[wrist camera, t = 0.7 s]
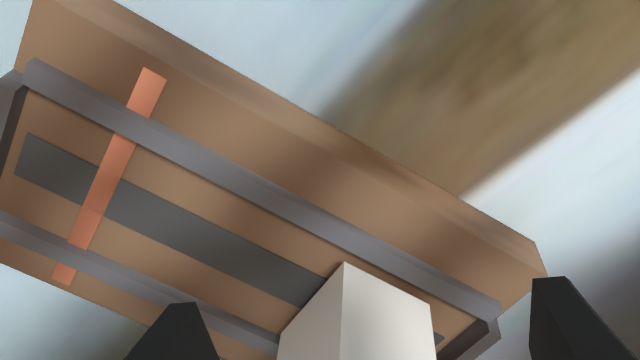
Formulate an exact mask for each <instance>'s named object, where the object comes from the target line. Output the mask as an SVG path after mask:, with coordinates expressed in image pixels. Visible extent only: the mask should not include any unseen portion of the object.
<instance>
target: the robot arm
mask: <svg viewBox="0 0 640 360" xmlns="http://www.w3.org/2000/svg"><path fill="white" fill-rule="evenodd" d="M529 349H530V353H531V358H532V360H638V359H637V358H636V357H635V356H634V355H633V354H632V353H631V351H630V350H629V349H628V348H627V347H626V346H625V345H624V344H623V343H622V342H621V341H620V340H619V339H618V337H617V336H616V335H615V334H614V333H613V332H612V331H611V330H610V328H609V327H608V326H607V325H606V324H605V323H604V322H603V320H602V319H601V318H600V317H599V316H598V315H597V313H596V312H595V311H594V310H593V309H592V308H591V306H590V305H589V304H588V303H587V301H586V300H585V299H584V298H583V297H582V295H581V294H580V293H579V292H578V290H577V289H576V288H575V287H574V285H573V284H572V283H571V281H570V280H569V279H567V278H566V277H565V276H560V277H546V278H532V295H531V314H530V332H529ZM124 360H220V359H219V357H218V354H217V352H216V349H215V347H214V345H213V342H212V340H211V338H210V335H209V333H208V330H207V328H206V326H205V323H204V321H203V319H202V316H201V314H200V311H199V309H198V307H197V304H196V302H185V303H170V304H169V305H168V306H167V308H166V309H165V310H164V311H163V312H162V314H161V315H160V316H159V317H158V318H157V320H156V321H155V322H154V323H153V324H152V326H151V327H150V328H149V329H148V330H147V332H146V333H145V334H144V335H143V337H142V338H141V339H140V340H139V341H138V343H137V344H136V345H135V346H134V347H133V349H132V350H131V351H130V352H129V354H128V355H127V356H126V357H125V358H124Z"/></svg>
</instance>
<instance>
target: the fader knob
mask: <svg viewBox="0 0 640 360" xmlns="http://www.w3.org/2000/svg"><path fill="white" fill-rule="evenodd" d="M277 360H437V359H436V351H435V344H434V336H433V328H432V321H431V313H430V305H429V304H427V303H425V302H424V301H422V300H420V299H418V298H416V297H414V296H412V295H410V294H408V293H406V292H404V291H402V290H400V289H398V288H396V287H394V286H392V285H390V284H388V283H386V282H384V281H382V280H380V279H378V278H376V277H374V276H372V275H370V274H368V273H366V272H364V271H362V270H360V269H358V268H356V267H354V266H352V265H350V264H348V263H346V262H343V263H342V264H341V266H340V267H339V268H338V269H337V270H336V271H335V272H334V274H333V275H332V276H331V277H330V278H329V279H328V280H327V282H326V283H325V284H324V285H323V286H322V287H321V288H320V290H319V291H318V292H317V293H316V294H315V295H314V296H313V298H312V299H311V300H310V301H309V302H308V303H307V304H306V305H305V307H304V308H303V309H302V310H301V311H300V312H299V313H298V315H297V316H296V317H295V318H294V319H293V320H292V321H291V323H290V324H289V325H288V326H287V327H286V328H285V329H284V331H283V332H282V333H281V336H280V342H279V348H278V354H277Z"/></svg>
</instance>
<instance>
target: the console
mask: <svg viewBox="0 0 640 360" xmlns="http://www.w3.org/2000/svg"><path fill="white" fill-rule="evenodd" d="M343 262H346V263H348V264H350V265H352V266H354V267H356V268H358V269H360V270H362V271H364V272H366V273H368V274H370V275H372V276H374V277H376V278H378V279H380V280H382V281H384V282H386V283H388V284H390V285H392V286H394V287H396V288H398V289H400V290H402V291H404V292H406V293H408V294H410V295H412V296H414V297H416V298H418V299H420V300H422V301H424V302H425V303H427V304H429V305H430V313H431V321H432V328H433V336H434V344H435V351H436V359H437V360H474V359H476V358H477V357H478V356H479V355H481V354H482V353H483V352H484V351H486V350H487V349H488V348H490V347H491V346H492V345H493V344H495V343H496V342H497V341H498V340H500V339H501V334H500V330H499V327H498V323H497V318H498V317H499V316H500V315H501V314H503V313H504V312H505V311H506V310H507V309H509V308H510V307H511V306H512V305H514V304H515V303H516V302H517V301H518V300H520V299H521V298H522V297H523V296H525V295H526V294H527V293H528V292H529V291H531V290H532V278H546V277H548V275H547V272H546V270H545V267H544V265H543V262H542V259H541V257H540V254H539V252H538V249H537V247H536V244H535V242H534V241H532V240H530V239H528V238H527V237H525V236H523V235H521V234H520V233H518V232H516V231H514V230H513V229H511V228H509V227H507V226H506V225H504V224H502V223H500V222H499V221H497V220H495V219H493V218H492V217H490V216H488V215H486V214H485V213H483V212H481V211H479V210H478V209H476V208H474V207H473V206H471V205H469V204H467V203H466V202H464V201H462V200H460V199H459V198H457V197H455V196H453V195H452V194H450V193H448V192H446V191H445V190H443V189H441V188H439V187H438V186H436V185H434V184H432V183H431V182H429V181H427V180H425V179H424V178H422V177H420V176H418V175H417V174H415V173H413V172H411V171H410V170H408V169H406V168H404V167H403V166H401V165H399V164H397V163H396V162H394V161H392V160H390V159H389V158H387V157H385V156H384V155H382V154H380V153H378V152H377V151H375V150H373V149H371V148H370V147H368V146H366V145H364V144H363V143H361V142H359V141H357V140H356V139H354V138H352V137H350V136H349V135H347V134H345V133H343V132H342V131H340V130H338V129H336V128H335V127H333V126H331V125H329V124H328V123H326V122H324V121H322V120H321V119H319V118H317V117H315V116H314V115H312V114H310V113H308V112H307V111H305V110H303V109H301V108H300V107H298V106H296V105H294V104H293V103H291V102H289V101H288V100H286V99H284V98H282V97H281V96H279V95H277V94H275V93H274V92H272V91H270V90H268V89H267V88H265V87H263V86H261V85H260V84H258V83H256V82H254V81H253V80H251V79H249V78H247V77H246V76H244V75H242V74H240V73H239V72H237V71H235V70H233V69H232V68H230V67H228V66H226V65H225V64H223V63H221V62H219V61H218V60H216V59H214V58H212V57H211V56H209V55H207V54H205V53H204V52H202V51H200V50H199V49H197V48H195V47H193V46H192V45H190V44H188V43H186V42H185V41H183V40H181V39H179V38H178V37H176V36H174V35H172V34H171V33H169V32H167V31H165V30H164V29H162V28H160V27H158V26H157V25H155V24H153V23H151V22H150V21H148V20H146V19H144V18H143V17H141V16H139V15H137V14H136V13H134V12H132V11H130V10H129V9H127V8H125V7H123V6H122V5H120V4H118V3H116V2H115V1H113V0H33V2H32V6H31V9H30V13H29V16H28V20H27V23H26V27H25V30H24V34H23V37H22V41H21V44H20V48H19V51H18V55H17V58H16V62H15V65H14V69H13V70H11V71H10V72H8V73H7V74H6V75H4V76H3V77H1V78H0V263H2V264H4V265H7V266H9V267H11V268H14V269H16V270H18V271H21V272H23V273H25V274H28V275H30V276H32V277H35V278H37V279H39V280H42V281H44V282H46V283H49V284H51V285H53V286H56V287H58V288H60V289H63V290H65V291H67V292H70V293H72V294H74V295H77V296H79V297H81V298H84V299H86V300H88V301H91V302H93V303H96V304H98V305H100V306H103V307H105V308H107V309H110V310H112V311H114V312H117V313H119V314H121V315H124V316H126V317H128V318H131V319H133V320H135V321H138V322H140V323H142V324H145V325H147V326H149V327H151V326H152V324H153V323H154V322H155V321H156V320H157V318H158V317H159V316H160V315H161V314H162V312H163V311H164V310H165V309H166V308H167V306H168V305H169V304H170V303H185V302H196V304H197V307H198V309H199V311H200V314H201V316H202V319H203V321H204V323H205V326H206V328H207V330H208V333H209V335H210V338H211V340H212V342H213V345H214V347H215V349H216V352H217V354H218V356H219V357H222V358H224V359H227V360H277V354H278V348H279V342H280V336H281V333H282V332H283V331H284V329H285V328H286V327H287V326H288V325H289V324H290V323H291V321H292V320H293V319H294V318H295V317H296V316H297V315H298V313H299V312H300V311H301V310H302V309H303V308H304V307H305V305H306V304H307V303H308V302H309V301H310V300H311V299H312V298H313V296H314V295H315V294H316V293H317V292H318V291H319V290H320V288H321V287H322V286H323V285H324V284H325V283H326V282H327V280H328V279H329V278H330V277H331V276H332V275H333V274H334V272H335V271H336V270H337V269H338V268H339V267H340V266H341V264H342V263H343Z"/></svg>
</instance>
